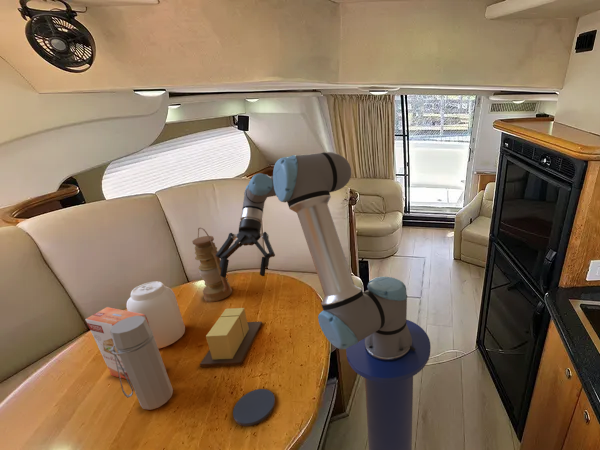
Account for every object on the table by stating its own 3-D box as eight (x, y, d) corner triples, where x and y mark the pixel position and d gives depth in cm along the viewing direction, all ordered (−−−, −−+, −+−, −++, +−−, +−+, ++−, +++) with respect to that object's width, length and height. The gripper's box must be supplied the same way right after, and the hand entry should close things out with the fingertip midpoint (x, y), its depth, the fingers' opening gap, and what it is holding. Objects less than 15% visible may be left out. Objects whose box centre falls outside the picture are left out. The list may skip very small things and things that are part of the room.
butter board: (262, 324, 113) (261, 321, 112) (241, 364, 95) (240, 361, 95) (228, 325, 112) (227, 322, 112) (200, 367, 94) (199, 364, 94)
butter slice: (249, 329, 108) (244, 307, 105) (244, 337, 105) (239, 315, 101) (231, 330, 108) (225, 308, 105) (226, 338, 104) (220, 316, 101)
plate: (281, 393, 86) (281, 390, 86) (263, 428, 77) (262, 425, 76) (247, 390, 87) (246, 387, 86) (225, 424, 78) (224, 421, 77)
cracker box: (109, 377, 91) (83, 318, 83) (131, 361, 96) (107, 305, 89) (147, 387, 88) (123, 327, 80) (167, 370, 93) (146, 312, 86)
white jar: (131, 346, 103) (111, 294, 95) (168, 322, 114) (152, 274, 106) (159, 354, 99) (140, 301, 92) (194, 329, 110) (179, 280, 103)
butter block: (244, 338, 104) (239, 316, 101) (232, 358, 96) (226, 335, 93) (225, 339, 104) (219, 316, 101) (212, 359, 96) (205, 336, 92)
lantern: (242, 290, 133) (228, 224, 122) (224, 304, 124) (207, 234, 113) (213, 285, 137) (196, 221, 126) (193, 299, 127) (173, 231, 116)
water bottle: (172, 382, 89) (146, 310, 80) (176, 401, 83) (148, 326, 74) (131, 401, 84) (98, 325, 74) (132, 422, 78) (96, 343, 69)
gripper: (286, 225, 124) (281, 277, 116) (222, 226, 123) (211, 279, 114) (281, 217, 117) (275, 272, 109) (212, 218, 116) (200, 274, 107)
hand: (242, 276), depth 111 cm, fingers open, 13 cm apart
